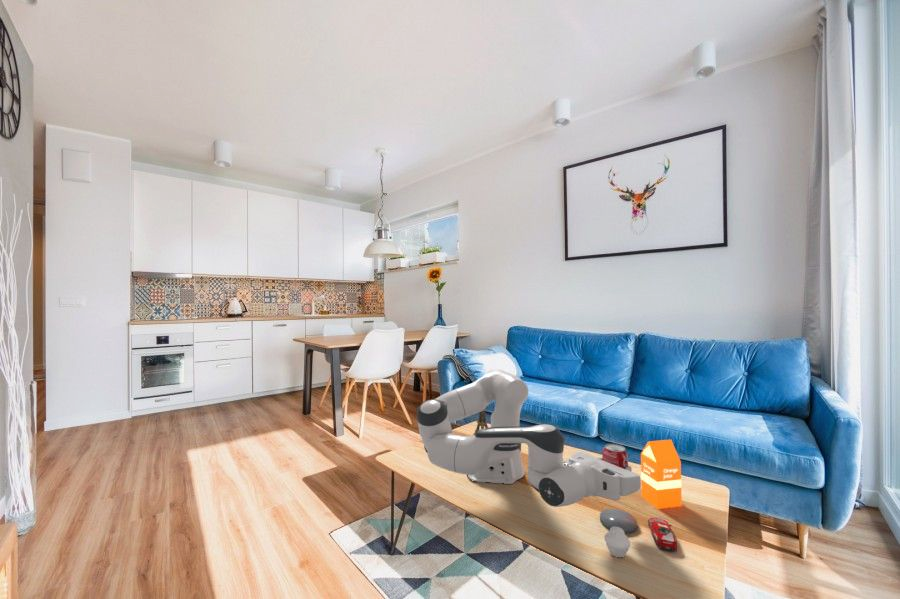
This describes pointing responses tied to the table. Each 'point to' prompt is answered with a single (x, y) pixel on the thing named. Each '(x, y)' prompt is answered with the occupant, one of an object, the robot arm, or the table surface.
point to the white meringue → (617, 542)
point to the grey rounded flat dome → (618, 520)
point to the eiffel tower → (481, 421)
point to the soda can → (615, 455)
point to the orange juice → (661, 474)
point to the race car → (662, 534)
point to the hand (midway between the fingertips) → (618, 464)
